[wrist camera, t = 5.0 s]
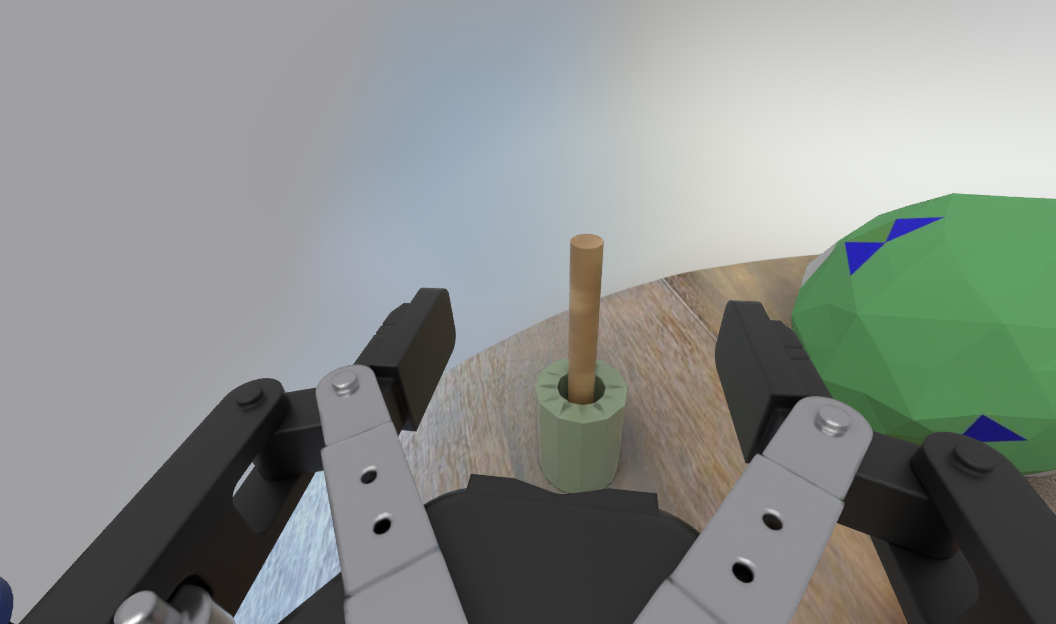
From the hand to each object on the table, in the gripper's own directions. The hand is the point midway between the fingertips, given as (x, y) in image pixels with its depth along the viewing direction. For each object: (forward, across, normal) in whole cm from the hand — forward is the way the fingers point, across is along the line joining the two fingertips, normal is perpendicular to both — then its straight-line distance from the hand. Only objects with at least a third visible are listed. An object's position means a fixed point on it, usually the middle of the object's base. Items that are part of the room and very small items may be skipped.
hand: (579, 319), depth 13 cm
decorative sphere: (+18, -25, +22) cm, 38 cm away
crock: (+11, 0, +22) cm, 25 cm away
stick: (+11, 0, +21) cm, 24 cm away
